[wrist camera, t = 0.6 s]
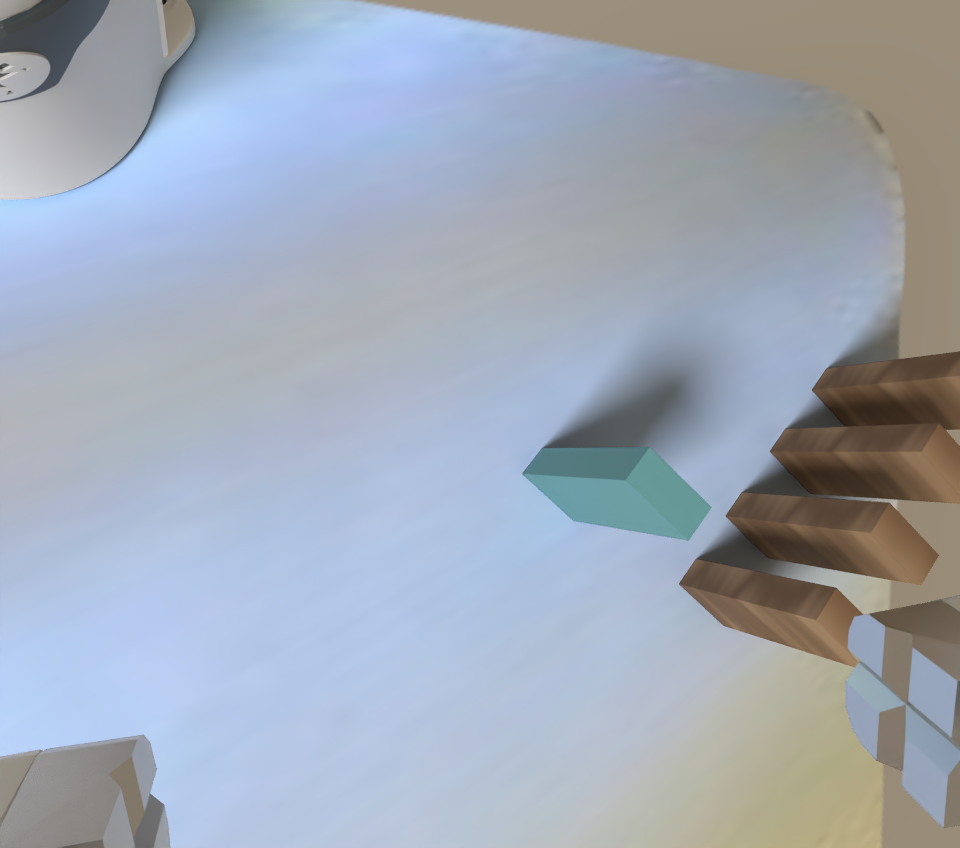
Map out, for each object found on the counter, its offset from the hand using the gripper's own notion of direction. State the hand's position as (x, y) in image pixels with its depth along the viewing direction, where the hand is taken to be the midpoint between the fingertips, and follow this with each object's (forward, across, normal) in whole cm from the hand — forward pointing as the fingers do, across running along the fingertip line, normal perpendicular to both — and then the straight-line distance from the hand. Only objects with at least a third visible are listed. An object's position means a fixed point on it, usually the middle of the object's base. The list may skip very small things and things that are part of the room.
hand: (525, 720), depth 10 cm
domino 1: (+38, -10, +12) cm, 41 cm away
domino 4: (+39, -24, +17) cm, 49 cm away
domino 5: (+37, -20, +20) cm, 47 cm away
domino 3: (+41, -28, +14) cm, 51 cm away
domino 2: (+43, -32, +10) cm, 54 cm away
